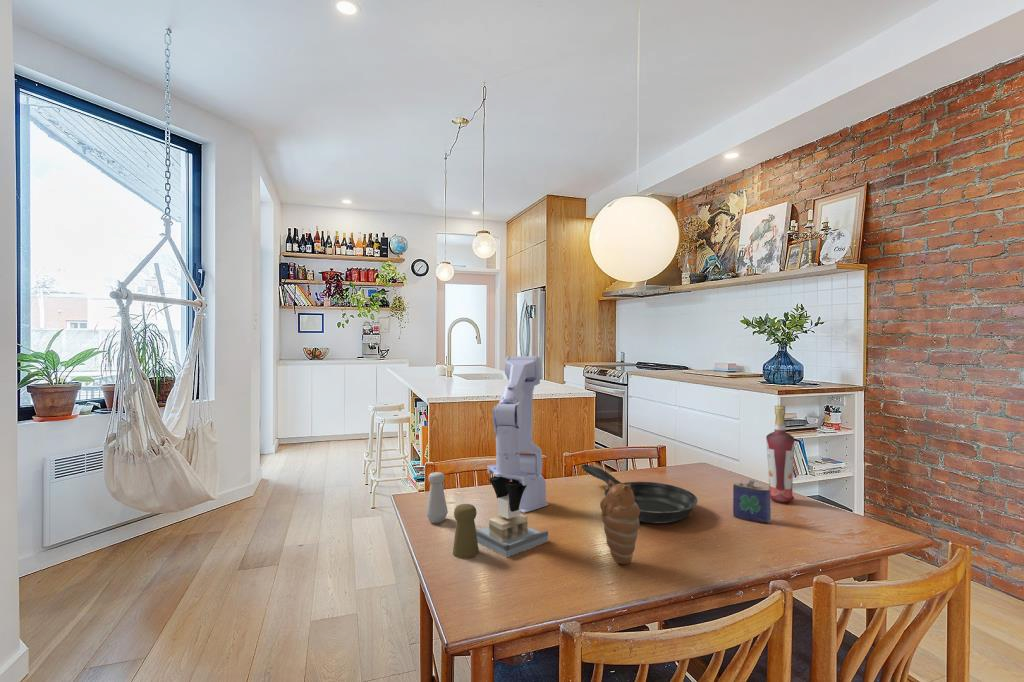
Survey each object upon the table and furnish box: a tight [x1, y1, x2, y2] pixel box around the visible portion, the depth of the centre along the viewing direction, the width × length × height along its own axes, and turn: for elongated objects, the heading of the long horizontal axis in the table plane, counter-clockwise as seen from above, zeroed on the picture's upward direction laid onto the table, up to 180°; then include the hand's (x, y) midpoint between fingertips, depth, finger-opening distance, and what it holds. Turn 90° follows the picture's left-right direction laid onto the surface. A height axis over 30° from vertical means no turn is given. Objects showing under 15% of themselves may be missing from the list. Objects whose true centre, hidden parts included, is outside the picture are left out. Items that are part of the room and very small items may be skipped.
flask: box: [732, 479, 772, 525], centre depth 132 cm, size 9×3×11 cm, turn 50°
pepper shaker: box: [452, 503, 480, 559], centre depth 115 cm, size 6×6×11 cm
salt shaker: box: [425, 471, 449, 524], centre depth 135 cm, size 6×6×13 cm
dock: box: [476, 526, 549, 558], centre depth 122 cm, size 13×14×2 cm
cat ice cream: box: [599, 480, 641, 565], centre depth 108 cm, size 9×8×18 cm
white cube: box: [496, 495, 522, 519], centre depth 122 cm, size 4×4×4 cm
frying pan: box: [581, 463, 698, 524], centre depth 148 cm, size 44×25×7 cm, turn 26°
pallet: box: [488, 513, 529, 542], centre depth 122 cm, size 8×5×4 cm, turn 130°
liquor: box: [765, 405, 795, 504], centre depth 147 cm, size 7×7×28 cm
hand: (508, 508), depth 122 cm, fingers closed on white cube, 4 cm apart
